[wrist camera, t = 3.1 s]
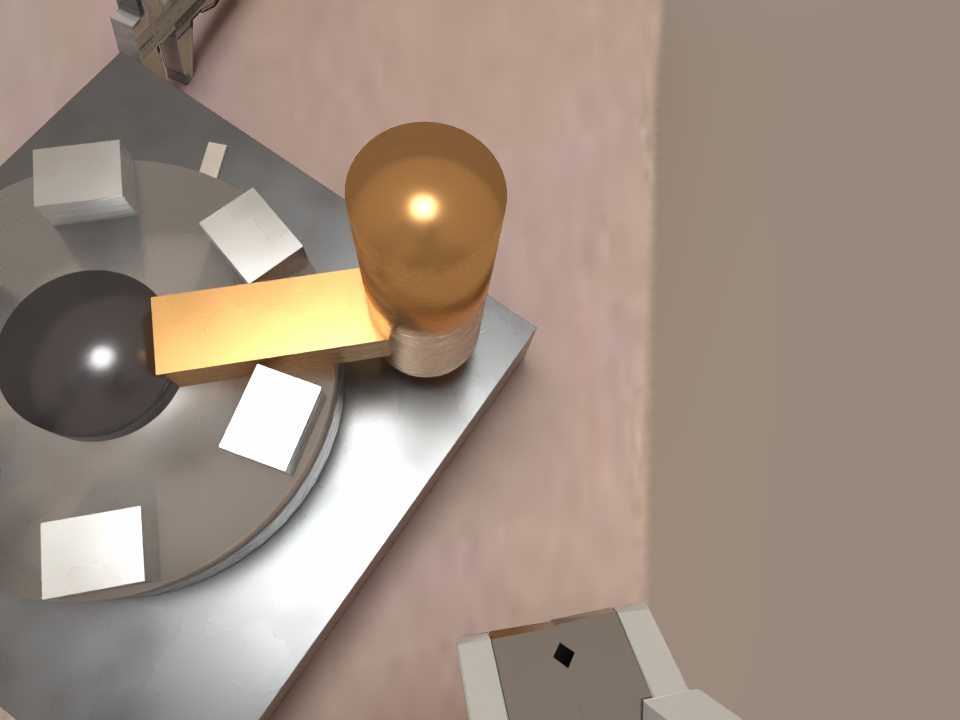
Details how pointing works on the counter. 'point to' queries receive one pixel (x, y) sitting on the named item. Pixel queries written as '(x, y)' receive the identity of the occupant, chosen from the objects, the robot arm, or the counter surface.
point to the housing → (314, 524)
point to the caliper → (159, 34)
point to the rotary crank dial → (208, 349)
